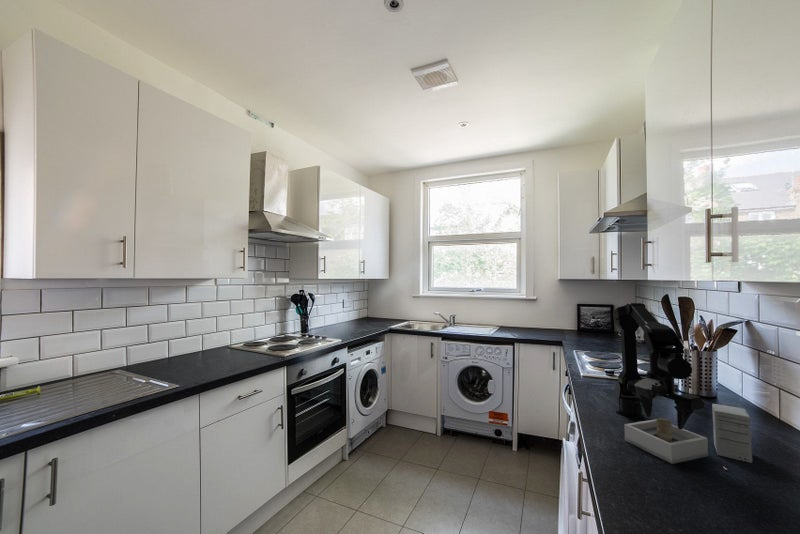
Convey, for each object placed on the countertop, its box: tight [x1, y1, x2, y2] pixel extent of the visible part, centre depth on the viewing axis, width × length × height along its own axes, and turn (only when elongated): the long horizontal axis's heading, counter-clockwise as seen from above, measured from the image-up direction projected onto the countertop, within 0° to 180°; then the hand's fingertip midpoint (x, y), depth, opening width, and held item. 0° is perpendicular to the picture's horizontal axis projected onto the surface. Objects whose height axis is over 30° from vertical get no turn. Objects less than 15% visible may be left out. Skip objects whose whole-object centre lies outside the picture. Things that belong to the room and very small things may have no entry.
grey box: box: [624, 418, 709, 465], centre depth 100 cm, size 14×14×5 cm
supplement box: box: [711, 403, 753, 464], centre depth 97 cm, size 7×7×13 cm
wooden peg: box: [656, 417, 672, 442], centre depth 100 cm, size 4×4×7 cm
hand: (663, 422), depth 100 cm, fingers open, 9 cm apart
